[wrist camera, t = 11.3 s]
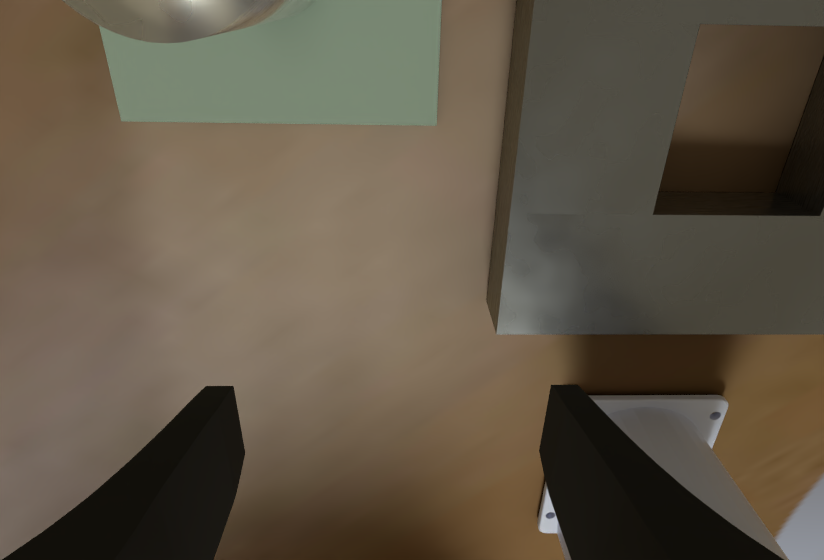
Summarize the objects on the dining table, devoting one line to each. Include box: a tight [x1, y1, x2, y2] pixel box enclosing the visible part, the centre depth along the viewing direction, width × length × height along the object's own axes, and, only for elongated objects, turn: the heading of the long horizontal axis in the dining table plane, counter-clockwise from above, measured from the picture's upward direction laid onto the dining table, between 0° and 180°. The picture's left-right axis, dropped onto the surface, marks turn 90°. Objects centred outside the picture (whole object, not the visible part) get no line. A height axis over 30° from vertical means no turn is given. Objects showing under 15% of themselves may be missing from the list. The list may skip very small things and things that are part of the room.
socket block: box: [487, 0, 824, 334], centre depth 18 cm, size 16×16×2 cm
